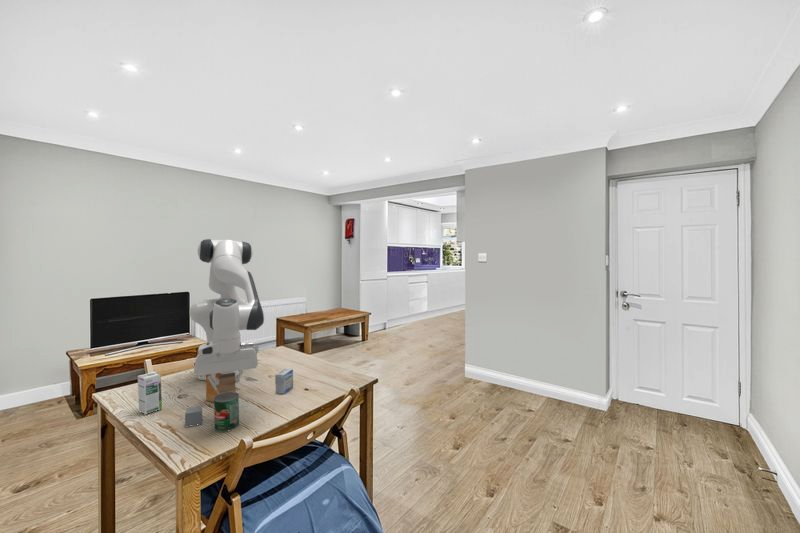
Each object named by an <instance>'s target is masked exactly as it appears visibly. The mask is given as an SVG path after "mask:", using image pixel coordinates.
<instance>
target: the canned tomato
mask: <svg viewBox="0 0 800 533" xmlns="http://www.w3.org/2000/svg"><path fill="white" fill-rule="evenodd" d="M239 396H240V395H239V393H238V392H235V391H233V392H226V393H222V394H219V395H217V396H215V398H214V402H213V404H214V405H213V407H214V408H213V409H214V410H213V411H214V412H213V413H214V414H213V415H214V430H215V432H217V431H220V432H219V433H223V432H222V431H227V432H229V431H228V430H231V431H233V430H232V429H234V430H235V429H237V428H238V427H239V426H240V413H239V412H240V409H239V408H240V406H239V404H240V402H239V401H240V400H239V399H240V398H239Z"/></svg>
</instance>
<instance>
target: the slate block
mask: <svg viewBox="0 0 800 533" xmlns="http://www.w3.org/2000/svg"><path fill="white" fill-rule="evenodd" d="M184 423H185V424H184V427H185V426H190V425H196V426H198V425H197V424H201V425H203V424H202V423H203V405H197V406H191V407H187V408H186V409H185V413H184Z"/></svg>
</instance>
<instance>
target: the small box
mask: <svg viewBox="0 0 800 533" xmlns="http://www.w3.org/2000/svg"><path fill="white" fill-rule="evenodd" d="M226 373H232V371H230V372H223V373H216V376H215V377H216V378H217V379H219V375H220V374H226ZM205 382H206V383H205V385H206V387H205V394H206V395H205V397H206V398H205V401H206V402H211V403H214V398H215V396H217V395H219V394H222V393H219V385H216V386H215V381H214V380H213V379H212V377H211V374H208V375H206V380H205ZM231 392H234V391H231ZM224 393H226V392H224Z"/></svg>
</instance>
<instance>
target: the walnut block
mask: <svg viewBox="0 0 800 533" xmlns="http://www.w3.org/2000/svg"><path fill="white" fill-rule="evenodd" d="M235 377H236V376H235V372H234V373H226V374H220V375H219V393H224V392H231V391H233V392H235V391H236V383H235Z"/></svg>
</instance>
